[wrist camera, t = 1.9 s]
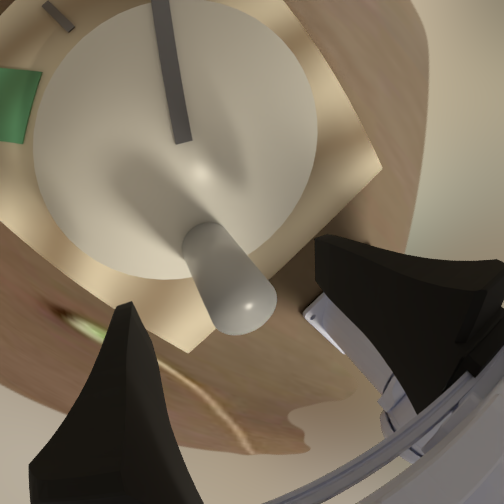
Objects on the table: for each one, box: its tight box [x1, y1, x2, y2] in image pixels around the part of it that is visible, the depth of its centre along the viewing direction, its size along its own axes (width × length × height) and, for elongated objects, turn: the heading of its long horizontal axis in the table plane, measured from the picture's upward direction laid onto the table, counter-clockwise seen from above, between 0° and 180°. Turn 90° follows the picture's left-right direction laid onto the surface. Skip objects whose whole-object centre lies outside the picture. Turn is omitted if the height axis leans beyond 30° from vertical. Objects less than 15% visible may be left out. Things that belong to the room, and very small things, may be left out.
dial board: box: [0, 0, 383, 353], centre depth 13 cm, size 22×18×2 cm
